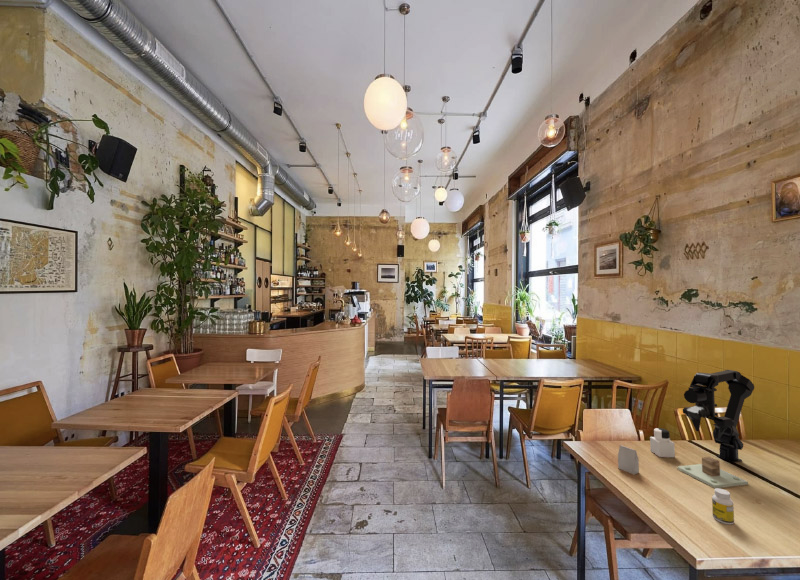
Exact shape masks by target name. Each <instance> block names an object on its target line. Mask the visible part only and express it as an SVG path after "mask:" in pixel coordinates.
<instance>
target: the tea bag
mask: <svg viewBox="0 0 800 580" xmlns="http://www.w3.org/2000/svg"><path fill="white" fill-rule="evenodd" d="M617 453H618V454H617V467H618V469H619V470H621V471H623V472H626V473H629V474H632V475H633V476H635V475H637V474H639V473H640V466H639V465H640V463H639V456H638V453H637V450H636V449H633V448H630V447H627V446H625V445H622V444H620V445H619V448H618V452H617Z"/></svg>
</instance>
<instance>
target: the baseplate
mask: <svg viewBox="0 0 800 580" xmlns="http://www.w3.org/2000/svg"><path fill="white" fill-rule="evenodd" d="M676 469H677V470H678V471H681V472H682V473H684V474H686V475H688V476H690V477H691V478H694V479H696V480H698V481H700V482H701V483H704V484H706V485H707V486H710V487H711V488H714V489H715V488H720V489H723V488H730V487H738V486H739V485H740V486H746V485H747V486H748V485H749V481H747V480H745V479H744V478H741V477H739V476H736V475H735V474H732V473H729V472H727V471H726V470H723V469H721V468H720V476H710V475H708V474H706V473H704V472H702V463H697V464H689V465H679V466H677V467H676Z"/></svg>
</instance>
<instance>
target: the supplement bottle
mask: <svg viewBox="0 0 800 580" xmlns="http://www.w3.org/2000/svg"><path fill="white" fill-rule="evenodd" d="M713 490H714V494H713V495H712V497H711V500H712V501H711V503H712V516H713V519H714V520H716V521H717V522H719V523H722V524H724V525H733V524H734V523H735V513H734V511H735V510H734V509H735V506H734V500H732V499H731V493H730V492H729V490H726V489H723V488H714V489H713Z"/></svg>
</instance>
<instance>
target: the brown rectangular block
mask: <svg viewBox="0 0 800 580" xmlns="http://www.w3.org/2000/svg"><path fill="white" fill-rule="evenodd" d="M701 464H702V472H704V473H706V474H708V475H710V476H720V469H721V467H720V466H721V465H720V464H721V463H720V460H718V459H715V458H713V457H711V456H705V457H701Z"/></svg>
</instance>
